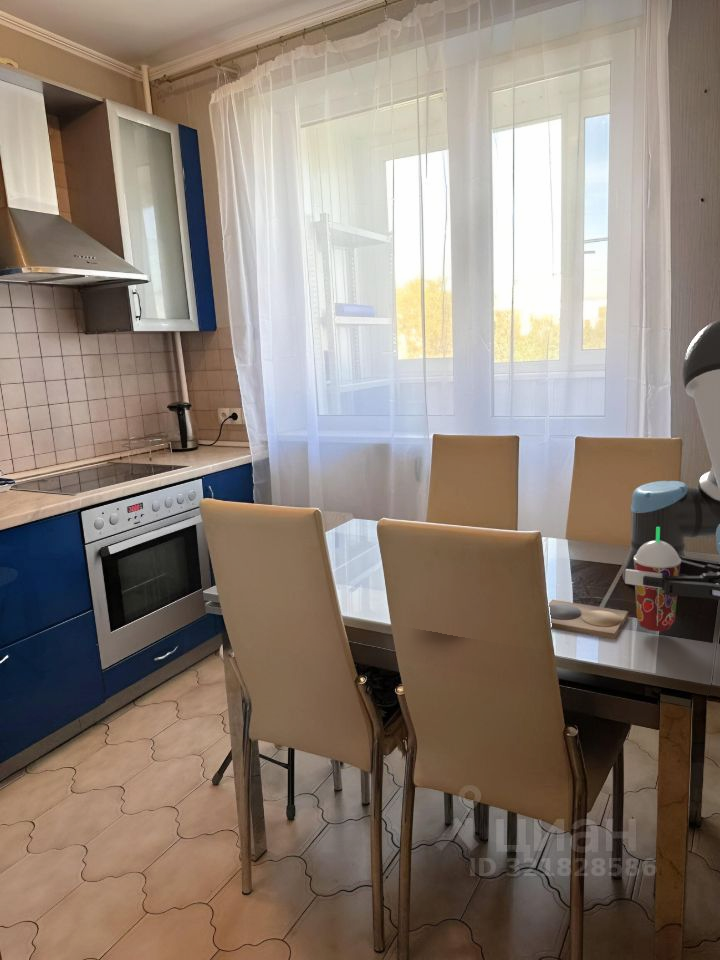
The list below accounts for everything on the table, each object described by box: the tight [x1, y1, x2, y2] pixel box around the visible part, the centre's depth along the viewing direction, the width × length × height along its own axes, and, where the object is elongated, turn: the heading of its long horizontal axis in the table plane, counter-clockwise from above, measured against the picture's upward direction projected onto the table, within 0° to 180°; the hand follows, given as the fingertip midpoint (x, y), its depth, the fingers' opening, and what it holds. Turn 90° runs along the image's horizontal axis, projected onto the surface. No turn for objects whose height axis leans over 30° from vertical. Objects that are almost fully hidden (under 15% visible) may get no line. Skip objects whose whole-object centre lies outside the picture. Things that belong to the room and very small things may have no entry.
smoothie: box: [633, 527, 681, 632], centre depth 128 cm, size 8×8×20 cm
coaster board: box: [548, 599, 629, 640], centre depth 140 cm, size 12×16×1 cm
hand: (630, 568), depth 131 cm, fingers closed on smoothie, 8 cm apart
